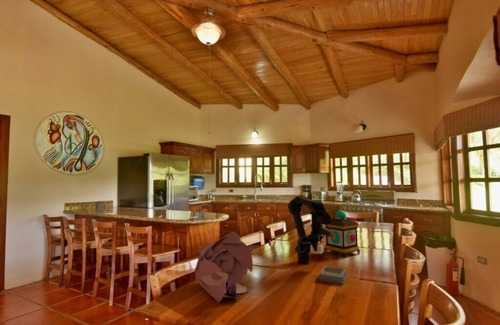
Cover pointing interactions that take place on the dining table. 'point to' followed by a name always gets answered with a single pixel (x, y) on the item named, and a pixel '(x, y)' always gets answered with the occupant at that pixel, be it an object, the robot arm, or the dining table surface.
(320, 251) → the beige cube with knob
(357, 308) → the dining table surface
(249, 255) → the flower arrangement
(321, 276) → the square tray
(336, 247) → the decorative lantern
